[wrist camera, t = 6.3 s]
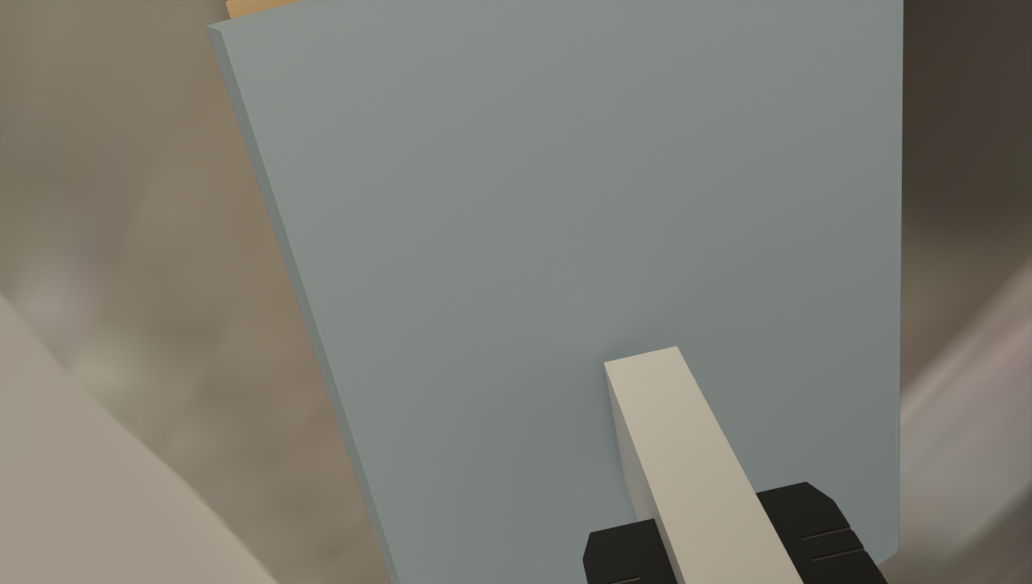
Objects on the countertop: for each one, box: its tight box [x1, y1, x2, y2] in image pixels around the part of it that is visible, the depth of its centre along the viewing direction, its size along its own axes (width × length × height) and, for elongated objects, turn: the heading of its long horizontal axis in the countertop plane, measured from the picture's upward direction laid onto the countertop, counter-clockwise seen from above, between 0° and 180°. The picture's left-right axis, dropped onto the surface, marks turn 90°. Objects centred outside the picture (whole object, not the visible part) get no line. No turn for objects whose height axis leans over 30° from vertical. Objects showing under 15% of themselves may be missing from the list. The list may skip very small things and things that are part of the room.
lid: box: [206, 0, 903, 584], centre depth 18 cm, size 17×12×1 cm
